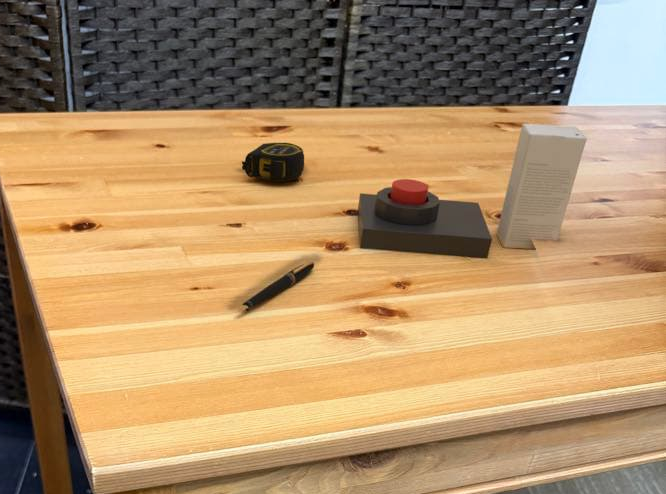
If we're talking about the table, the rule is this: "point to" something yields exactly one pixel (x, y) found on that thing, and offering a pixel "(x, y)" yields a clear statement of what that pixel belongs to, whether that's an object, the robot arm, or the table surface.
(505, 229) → the cosmetic box
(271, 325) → the table surface
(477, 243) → the console
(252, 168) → the tape measure
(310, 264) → the fountain pen
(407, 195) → the button
